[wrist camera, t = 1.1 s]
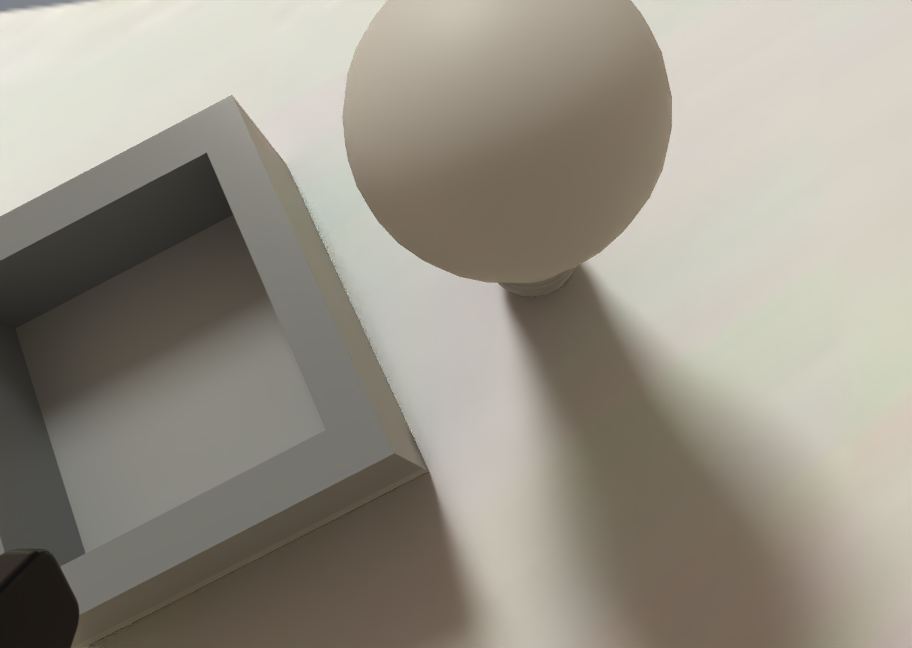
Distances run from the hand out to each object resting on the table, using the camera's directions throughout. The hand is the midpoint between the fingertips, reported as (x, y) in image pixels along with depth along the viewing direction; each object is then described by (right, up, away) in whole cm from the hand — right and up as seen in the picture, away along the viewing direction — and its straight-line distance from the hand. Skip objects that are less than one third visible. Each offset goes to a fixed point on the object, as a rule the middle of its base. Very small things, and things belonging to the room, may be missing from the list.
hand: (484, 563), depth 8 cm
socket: (-8, 0, +16) cm, 18 cm away
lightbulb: (+2, +4, +15) cm, 16 cm away
